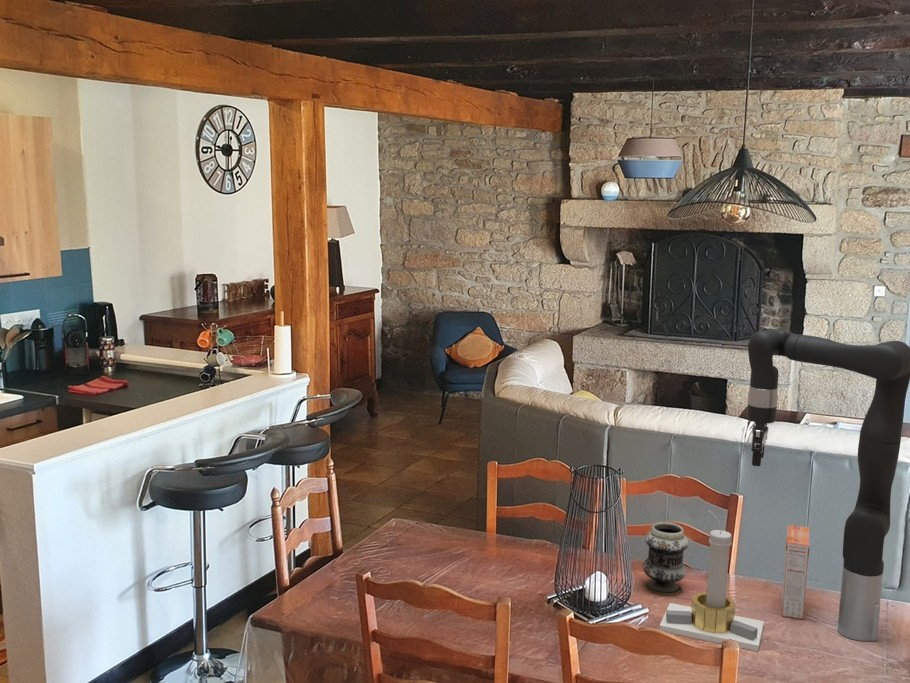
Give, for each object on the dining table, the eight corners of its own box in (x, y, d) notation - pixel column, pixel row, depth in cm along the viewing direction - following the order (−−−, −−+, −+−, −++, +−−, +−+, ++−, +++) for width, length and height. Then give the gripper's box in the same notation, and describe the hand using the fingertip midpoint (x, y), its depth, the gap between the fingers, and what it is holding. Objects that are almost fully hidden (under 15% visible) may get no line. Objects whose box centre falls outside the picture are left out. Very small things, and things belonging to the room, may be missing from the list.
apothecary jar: (682, 600, 251) (686, 538, 248) (637, 592, 255) (641, 531, 252) (688, 583, 262) (692, 523, 259) (645, 576, 266) (649, 516, 263)
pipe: (726, 629, 231) (734, 516, 226) (700, 626, 233) (708, 514, 227) (724, 619, 237) (732, 508, 231) (699, 617, 238) (707, 506, 233)
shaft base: (763, 626, 237) (764, 612, 236) (758, 651, 224) (759, 636, 223) (669, 608, 246) (670, 594, 245) (659, 630, 233) (660, 616, 233)
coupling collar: (735, 618, 237) (737, 597, 236) (730, 636, 228) (732, 613, 227) (694, 610, 241) (696, 589, 240) (688, 627, 232) (689, 605, 231)
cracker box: (781, 595, 255) (787, 523, 252) (804, 599, 253) (810, 526, 250) (779, 616, 242) (786, 541, 239) (804, 620, 240) (810, 545, 237)
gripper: (774, 410, 239) (770, 470, 242) (779, 399, 252) (774, 456, 255) (744, 407, 242) (740, 466, 245) (750, 396, 255) (746, 452, 257)
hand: (757, 461), depth 250 cm, fingers open, 8 cm apart
